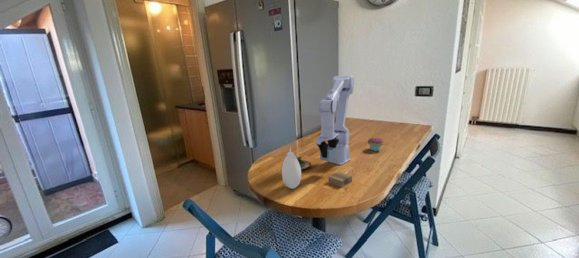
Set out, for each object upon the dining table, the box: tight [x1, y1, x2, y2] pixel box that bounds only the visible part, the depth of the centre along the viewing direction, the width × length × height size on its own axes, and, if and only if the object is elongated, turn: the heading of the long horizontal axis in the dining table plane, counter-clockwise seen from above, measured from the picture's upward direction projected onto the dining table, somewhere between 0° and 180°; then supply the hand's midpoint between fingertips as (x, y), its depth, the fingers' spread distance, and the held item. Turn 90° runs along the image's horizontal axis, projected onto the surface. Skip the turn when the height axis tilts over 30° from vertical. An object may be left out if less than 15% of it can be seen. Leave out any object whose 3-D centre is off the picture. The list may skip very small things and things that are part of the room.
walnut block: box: [328, 171, 353, 188], centre depth 107 cm, size 7×7×3 cm
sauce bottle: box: [281, 146, 302, 190], centre depth 102 cm, size 8×8×18 cm
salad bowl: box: [294, 152, 312, 171], centre depth 124 cm, size 12×12×8 cm
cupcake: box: [367, 129, 385, 152], centre depth 143 cm, size 9×8×12 cm
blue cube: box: [319, 146, 336, 163], centre depth 114 cm, size 5×5×5 cm
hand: (328, 155), depth 114 cm, fingers closed on blue cube, 5 cm apart
